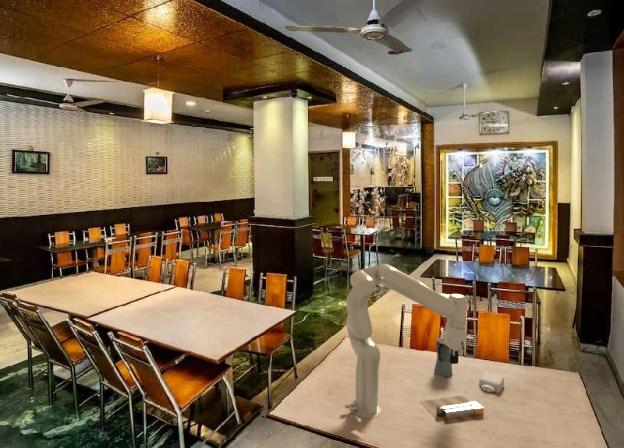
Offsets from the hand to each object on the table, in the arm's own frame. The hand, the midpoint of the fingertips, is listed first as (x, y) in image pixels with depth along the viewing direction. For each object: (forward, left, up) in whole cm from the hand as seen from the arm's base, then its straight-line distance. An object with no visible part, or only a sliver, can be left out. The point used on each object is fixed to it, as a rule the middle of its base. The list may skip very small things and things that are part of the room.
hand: (453, 362), depth 182 cm
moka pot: (+12, +27, -19) cm, 35 cm away
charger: (+25, +8, -20) cm, 33 cm away
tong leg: (-3, -8, -18) cm, 20 cm away
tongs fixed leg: (-2, -11, -18) cm, 21 cm away
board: (-3, -5, -19) cm, 20 cm away
